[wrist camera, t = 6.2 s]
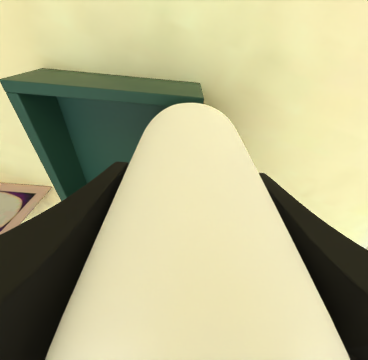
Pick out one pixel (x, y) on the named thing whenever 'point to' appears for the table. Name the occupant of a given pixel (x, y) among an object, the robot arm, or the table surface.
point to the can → (194, 259)
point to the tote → (89, 118)
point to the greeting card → (18, 203)
